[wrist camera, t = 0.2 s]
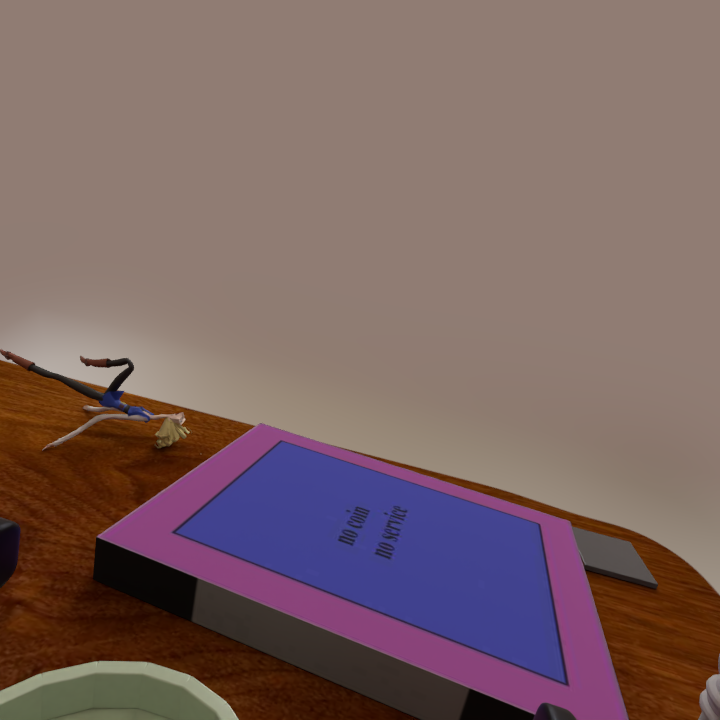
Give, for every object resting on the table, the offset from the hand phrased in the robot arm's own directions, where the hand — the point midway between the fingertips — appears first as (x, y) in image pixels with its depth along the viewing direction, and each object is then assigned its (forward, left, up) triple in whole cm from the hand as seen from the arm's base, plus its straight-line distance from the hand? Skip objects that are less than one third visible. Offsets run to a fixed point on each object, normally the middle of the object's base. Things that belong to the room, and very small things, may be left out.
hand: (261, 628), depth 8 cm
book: (+25, -2, -17) cm, 30 cm away
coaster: (+35, -23, -17) cm, 45 cm away
